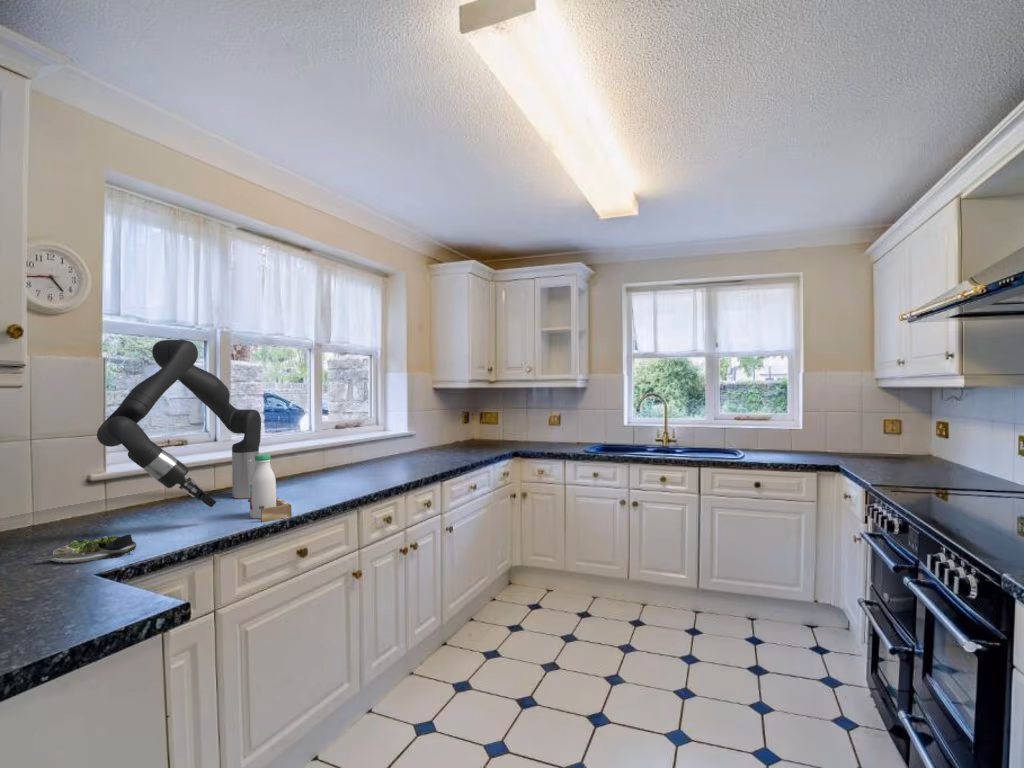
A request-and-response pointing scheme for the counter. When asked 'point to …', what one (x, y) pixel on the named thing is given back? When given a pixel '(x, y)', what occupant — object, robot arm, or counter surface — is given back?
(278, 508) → the light brown wooden box
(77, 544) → the salad plate
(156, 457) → the robot arm
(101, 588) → the counter surface
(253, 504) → the milk bottle
